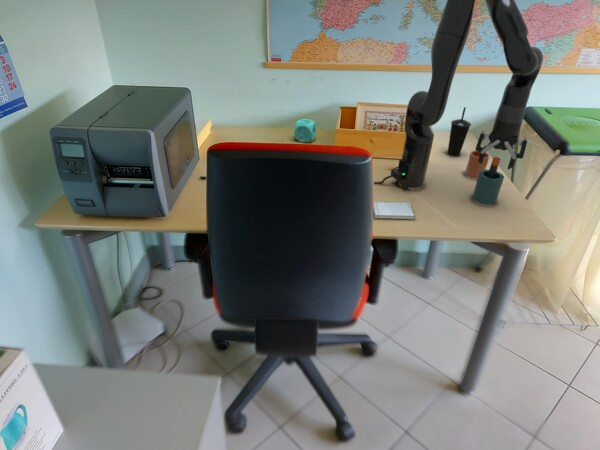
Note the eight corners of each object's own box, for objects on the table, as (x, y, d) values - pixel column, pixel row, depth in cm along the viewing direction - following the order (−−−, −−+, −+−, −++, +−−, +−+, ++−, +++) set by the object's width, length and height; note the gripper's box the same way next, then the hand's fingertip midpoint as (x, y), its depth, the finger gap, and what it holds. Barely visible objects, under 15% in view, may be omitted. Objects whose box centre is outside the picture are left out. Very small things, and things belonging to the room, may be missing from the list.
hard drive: (409, 202, 135) (372, 201, 136) (414, 215, 129) (375, 214, 129) (408, 206, 136) (371, 205, 137) (413, 220, 130) (374, 218, 130)
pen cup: (473, 181, 152) (479, 159, 147) (461, 173, 157) (466, 152, 152) (486, 178, 154) (493, 156, 149) (474, 170, 159) (480, 149, 154)
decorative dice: (315, 137, 185) (316, 120, 181) (311, 143, 179) (312, 126, 175) (299, 135, 187) (299, 118, 183) (294, 141, 181) (294, 124, 176)
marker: (484, 200, 138) (496, 160, 130) (479, 197, 140) (491, 157, 131) (488, 199, 139) (501, 159, 131) (484, 196, 141) (496, 156, 132)
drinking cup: (460, 150, 175) (472, 104, 163) (464, 158, 168) (477, 111, 157) (442, 149, 175) (453, 104, 164) (446, 157, 169) (457, 110, 158)
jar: (482, 208, 136) (491, 181, 130) (467, 197, 142) (474, 171, 136) (500, 203, 138) (509, 177, 133) (484, 193, 144) (492, 168, 138)
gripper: (483, 118, 124) (470, 166, 133) (534, 125, 118) (517, 175, 128) (485, 110, 129) (473, 157, 138) (535, 117, 124) (519, 165, 133)
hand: (494, 165), depth 133 cm, fingers open, 8 cm apart
